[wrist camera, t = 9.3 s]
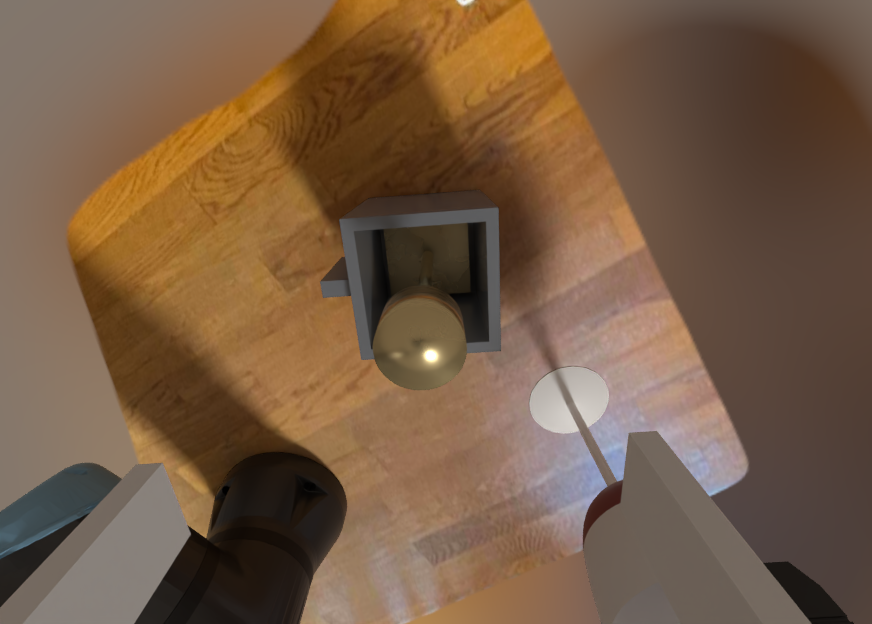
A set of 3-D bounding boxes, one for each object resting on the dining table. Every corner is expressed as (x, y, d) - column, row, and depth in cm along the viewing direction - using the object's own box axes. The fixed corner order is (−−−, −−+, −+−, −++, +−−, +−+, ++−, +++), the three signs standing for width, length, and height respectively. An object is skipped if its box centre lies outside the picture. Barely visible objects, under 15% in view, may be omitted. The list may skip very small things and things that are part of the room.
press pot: (358, 303, 41) (328, 362, 29) (342, 200, 37) (301, 222, 26) (483, 295, 40) (500, 350, 29) (479, 189, 37) (498, 207, 25)
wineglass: (524, 439, 47) (599, 684, 25) (529, 361, 43) (621, 572, 22) (605, 437, 47) (748, 681, 25) (616, 359, 43) (796, 568, 21)
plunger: (392, 294, 38) (354, 418, 21) (383, 216, 35) (330, 281, 18) (469, 289, 38) (498, 409, 20) (466, 210, 35) (495, 270, 18)
